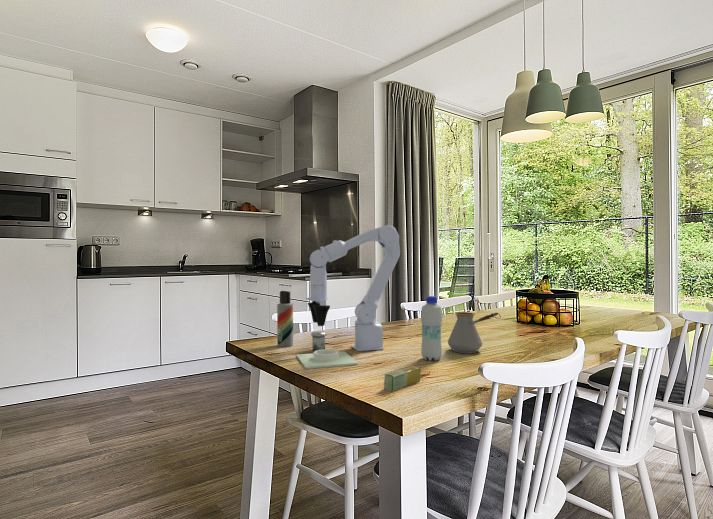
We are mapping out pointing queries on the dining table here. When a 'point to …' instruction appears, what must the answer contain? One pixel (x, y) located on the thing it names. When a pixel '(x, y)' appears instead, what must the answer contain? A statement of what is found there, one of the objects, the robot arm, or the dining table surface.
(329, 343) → the dining table surface
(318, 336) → the silver canister
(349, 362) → the duct flange
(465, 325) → the coffee pot
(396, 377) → the medication box
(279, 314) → the lotion bottle
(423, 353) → the bottle
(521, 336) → the dining table surface
